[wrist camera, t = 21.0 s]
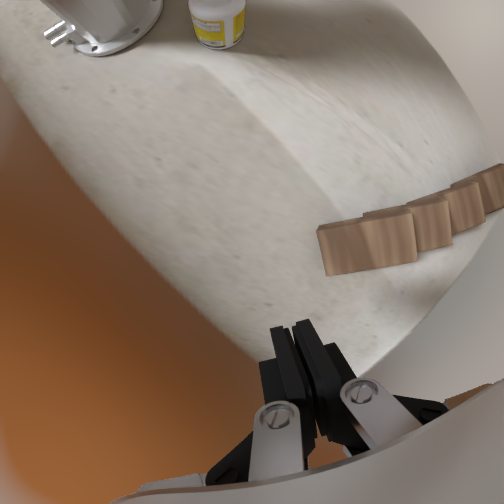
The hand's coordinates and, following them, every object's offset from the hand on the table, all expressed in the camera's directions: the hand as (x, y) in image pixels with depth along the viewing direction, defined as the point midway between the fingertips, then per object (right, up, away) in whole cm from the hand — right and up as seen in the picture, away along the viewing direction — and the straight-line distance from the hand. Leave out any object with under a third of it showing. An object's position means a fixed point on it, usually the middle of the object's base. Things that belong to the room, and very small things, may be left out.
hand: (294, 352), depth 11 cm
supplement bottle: (-5, +29, +13) cm, 32 cm away
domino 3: (+18, +8, +18) cm, 26 cm away
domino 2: (+11, +6, +18) cm, 22 cm away
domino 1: (+6, +4, +18) cm, 20 cm away
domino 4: (+25, +11, +17) cm, 32 cm away
